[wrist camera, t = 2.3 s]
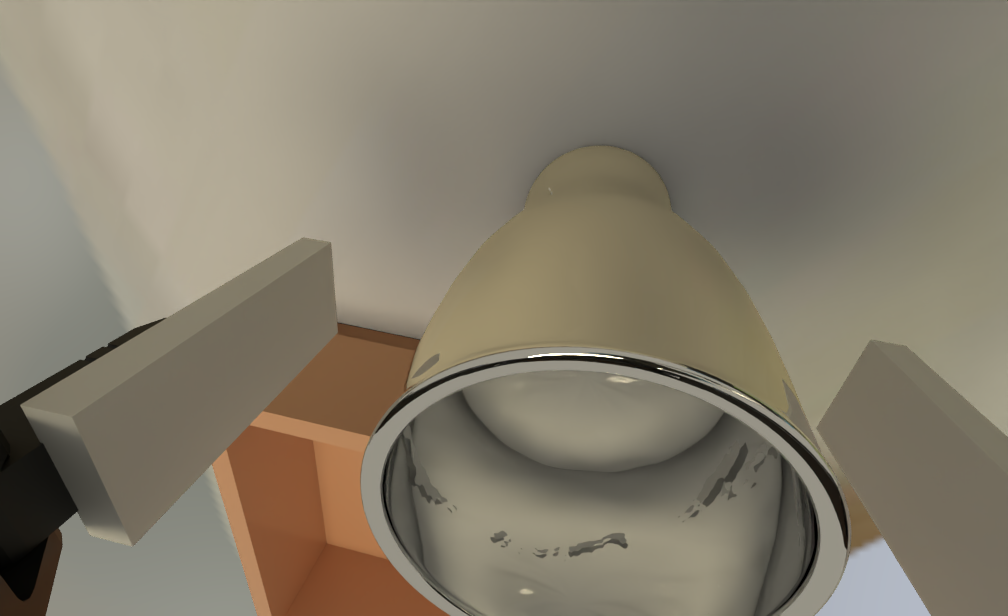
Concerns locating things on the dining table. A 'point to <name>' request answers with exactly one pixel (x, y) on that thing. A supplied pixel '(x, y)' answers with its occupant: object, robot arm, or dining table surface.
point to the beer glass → (603, 425)
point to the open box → (318, 487)
